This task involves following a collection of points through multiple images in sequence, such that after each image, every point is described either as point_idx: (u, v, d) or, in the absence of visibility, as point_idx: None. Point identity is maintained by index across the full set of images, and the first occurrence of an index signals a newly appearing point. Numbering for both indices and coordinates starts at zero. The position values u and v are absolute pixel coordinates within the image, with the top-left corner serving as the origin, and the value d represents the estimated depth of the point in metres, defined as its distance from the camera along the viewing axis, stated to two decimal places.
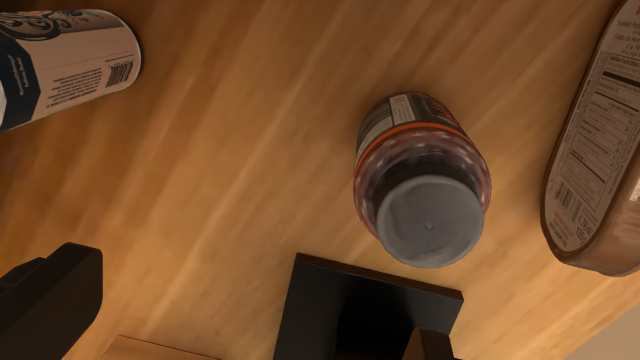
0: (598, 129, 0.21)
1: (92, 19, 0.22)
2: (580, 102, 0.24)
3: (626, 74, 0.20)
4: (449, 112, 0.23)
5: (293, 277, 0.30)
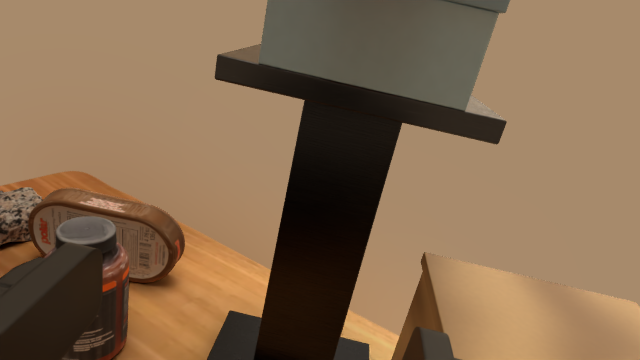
0: None
1: None
2: None
3: None
4: None
5: None
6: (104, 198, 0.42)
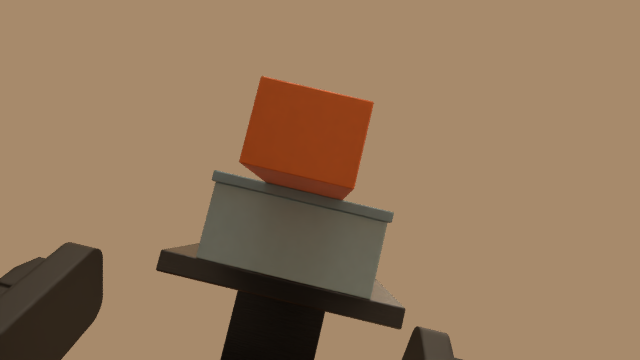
0: None
1: None
2: None
3: None
4: None
5: None
6: None
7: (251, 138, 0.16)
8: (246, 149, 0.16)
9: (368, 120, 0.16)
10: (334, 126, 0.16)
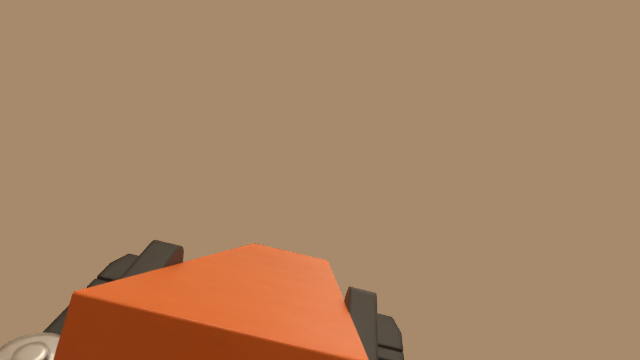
0: None
1: None
2: None
3: None
4: None
5: None
6: None
7: None
8: None
9: None
10: None
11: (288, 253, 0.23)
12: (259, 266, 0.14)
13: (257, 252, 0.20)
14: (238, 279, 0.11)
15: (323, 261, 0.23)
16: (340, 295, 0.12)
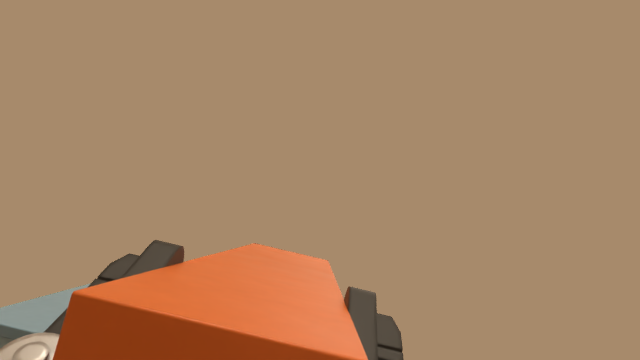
0: None
1: None
2: None
3: None
4: None
5: None
6: None
7: None
8: None
9: None
10: None
11: (288, 253, 0.23)
12: (259, 266, 0.14)
13: (257, 252, 0.20)
14: (238, 279, 0.11)
15: (323, 261, 0.23)
16: (340, 295, 0.12)
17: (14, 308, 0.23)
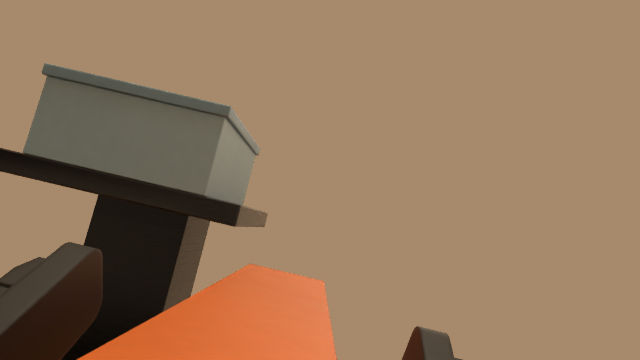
0: None
1: None
2: None
3: None
4: None
5: None
6: None
7: None
8: None
9: None
10: None
11: (284, 275, 0.23)
12: (251, 301, 0.14)
13: (252, 278, 0.19)
14: (227, 326, 0.11)
15: (319, 283, 0.23)
16: (331, 337, 0.12)
17: None
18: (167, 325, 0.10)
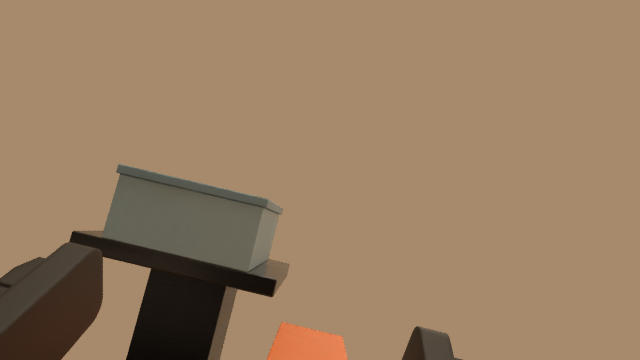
0: None
1: None
2: None
3: None
4: None
5: None
6: None
7: None
8: None
9: None
10: None
11: (311, 335, 0.29)
12: None
13: (289, 346, 0.25)
14: None
15: (339, 341, 0.29)
16: None
17: None
18: None
